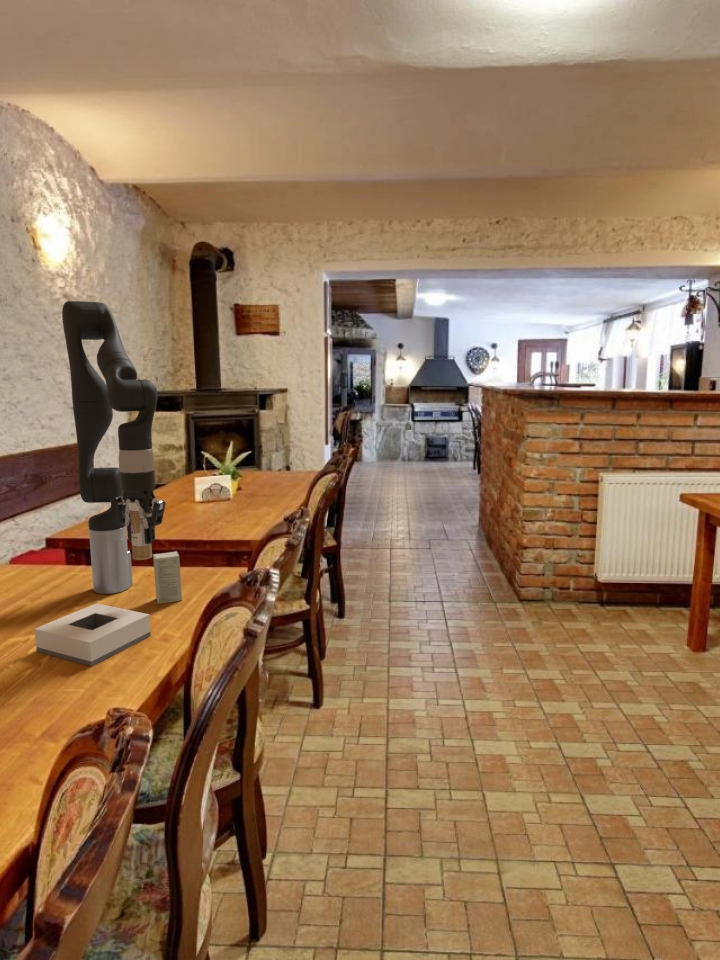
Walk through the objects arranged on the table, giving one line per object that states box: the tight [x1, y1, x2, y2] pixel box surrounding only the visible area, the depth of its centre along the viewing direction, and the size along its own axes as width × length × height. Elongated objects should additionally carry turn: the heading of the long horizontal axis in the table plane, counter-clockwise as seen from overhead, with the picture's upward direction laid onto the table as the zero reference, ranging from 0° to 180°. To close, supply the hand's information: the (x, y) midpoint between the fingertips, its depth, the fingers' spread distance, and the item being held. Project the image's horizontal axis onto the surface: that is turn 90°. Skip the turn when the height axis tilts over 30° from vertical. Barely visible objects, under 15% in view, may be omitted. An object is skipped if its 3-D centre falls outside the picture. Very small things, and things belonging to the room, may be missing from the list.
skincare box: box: [152, 550, 183, 605], centre depth 155 cm, size 6×4×12 cm
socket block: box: [34, 602, 151, 667], centre depth 130 cm, size 16×16×5 cm
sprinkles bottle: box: [129, 502, 153, 561], centre depth 139 cm, size 5×5×13 cm
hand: (141, 541), depth 139 cm, fingers closed on sprinkles bottle, 4 cm apart
